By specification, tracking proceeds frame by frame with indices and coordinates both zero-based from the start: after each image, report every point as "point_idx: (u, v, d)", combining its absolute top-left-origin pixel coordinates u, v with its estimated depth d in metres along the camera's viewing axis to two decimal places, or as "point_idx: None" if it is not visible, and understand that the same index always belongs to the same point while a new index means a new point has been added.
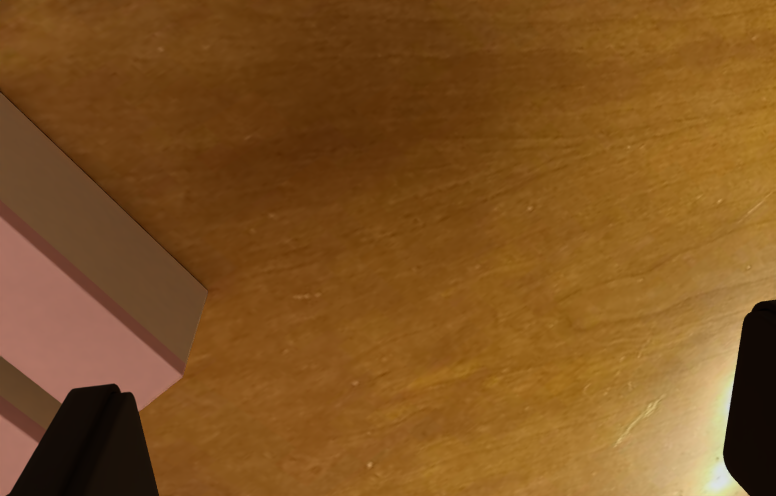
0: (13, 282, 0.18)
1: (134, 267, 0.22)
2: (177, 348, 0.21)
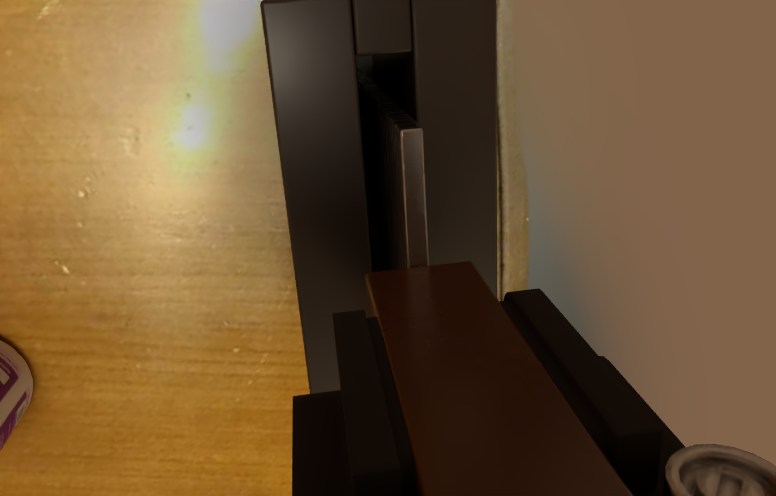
0: None
1: None
2: None
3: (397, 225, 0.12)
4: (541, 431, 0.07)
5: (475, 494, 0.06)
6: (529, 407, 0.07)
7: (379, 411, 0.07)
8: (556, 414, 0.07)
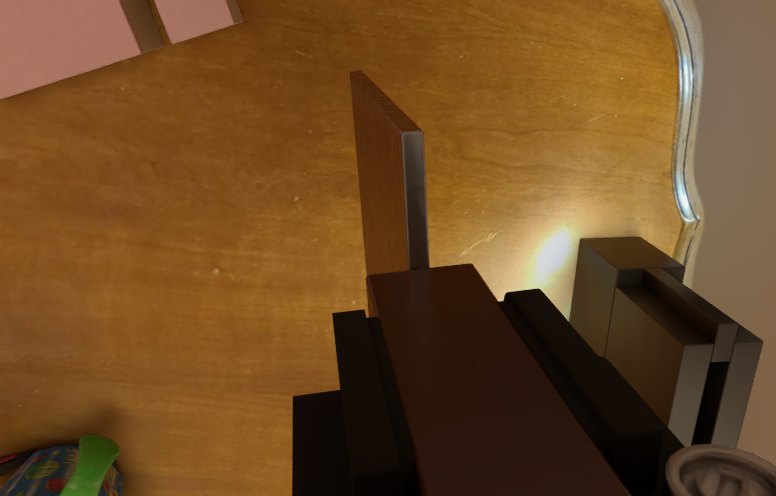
0: None
1: None
2: (232, 13, 0.34)
3: (398, 227, 0.13)
4: (542, 434, 0.07)
5: None
6: (530, 410, 0.07)
7: (379, 411, 0.07)
8: (557, 417, 0.07)
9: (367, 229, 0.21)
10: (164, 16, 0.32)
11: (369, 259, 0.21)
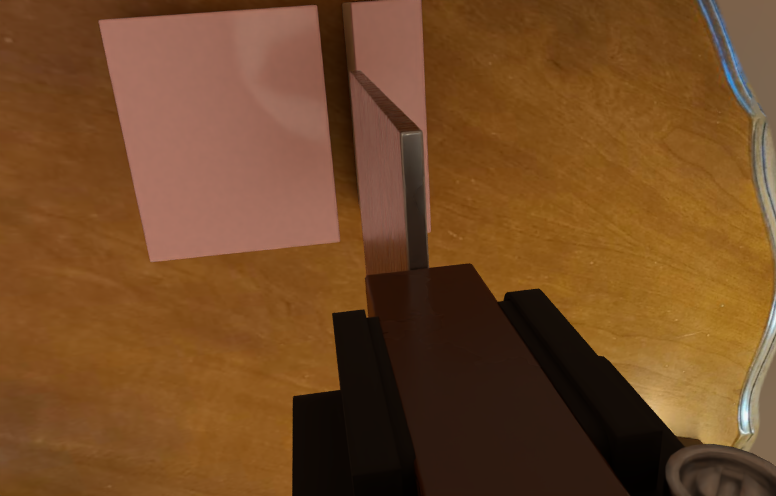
0: None
1: None
2: None
3: (397, 227, 0.12)
4: (541, 435, 0.07)
5: None
6: (529, 410, 0.07)
7: (379, 411, 0.07)
8: (556, 417, 0.07)
9: (367, 229, 0.21)
10: None
11: (369, 259, 0.21)
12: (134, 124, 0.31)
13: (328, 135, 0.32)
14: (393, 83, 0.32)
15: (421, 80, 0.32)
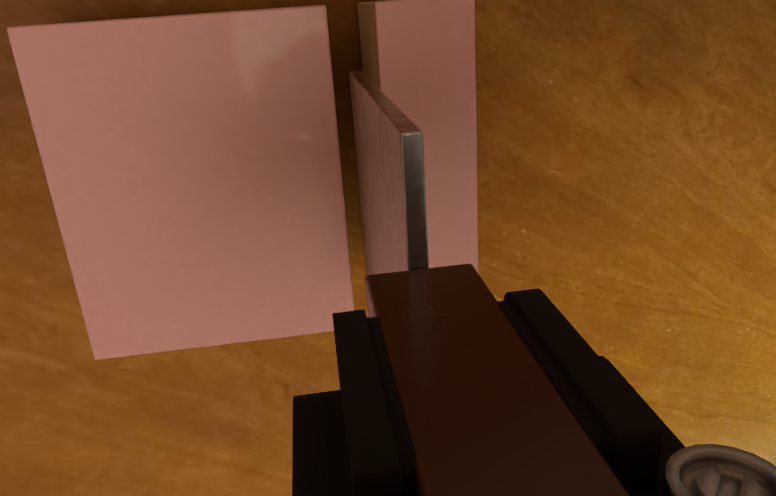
0: (444, 186, 0.24)
1: None
2: None
3: (397, 227, 0.12)
4: (541, 435, 0.07)
5: None
6: (529, 411, 0.07)
7: (379, 411, 0.07)
8: (556, 418, 0.07)
9: (367, 229, 0.21)
10: None
11: (369, 259, 0.21)
12: (65, 175, 0.22)
13: (341, 187, 0.23)
14: (432, 115, 0.23)
15: (471, 111, 0.23)
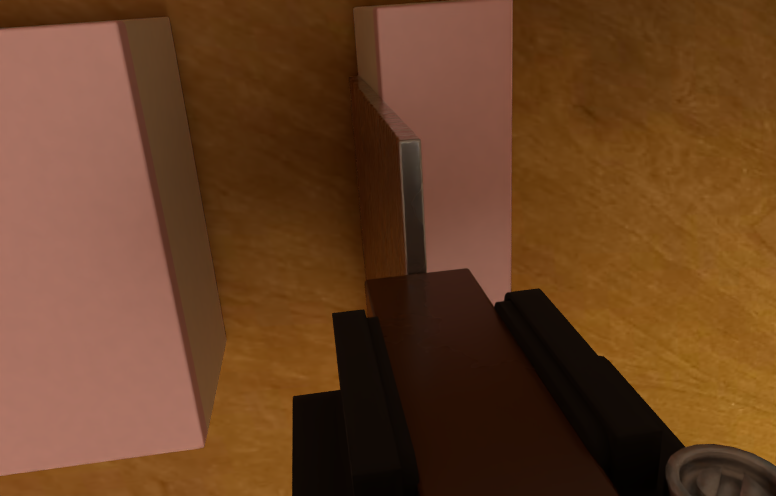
0: (468, 250, 0.18)
1: None
2: None
3: (396, 233, 0.13)
4: (534, 435, 0.07)
5: None
6: (523, 412, 0.08)
7: (378, 411, 0.07)
8: (549, 419, 0.08)
9: (366, 233, 0.21)
10: None
11: (368, 262, 0.21)
12: None
13: (165, 269, 0.17)
14: (454, 160, 0.17)
15: (506, 153, 0.17)
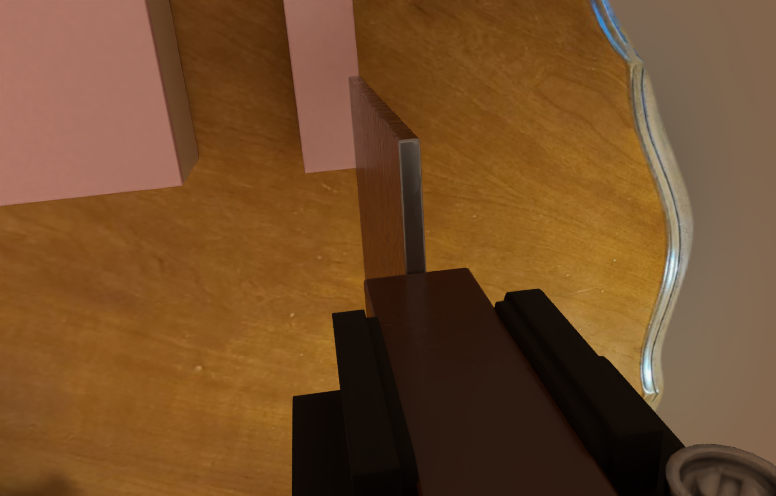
0: (333, 64, 0.33)
1: None
2: None
3: (395, 232, 0.13)
4: (533, 435, 0.07)
5: (469, 495, 0.06)
6: (522, 411, 0.08)
7: (378, 411, 0.07)
8: (548, 418, 0.08)
9: (365, 232, 0.21)
10: (305, 148, 0.34)
11: (367, 262, 0.21)
12: None
13: (158, 73, 0.32)
14: (321, 11, 0.32)
15: (349, 8, 0.32)
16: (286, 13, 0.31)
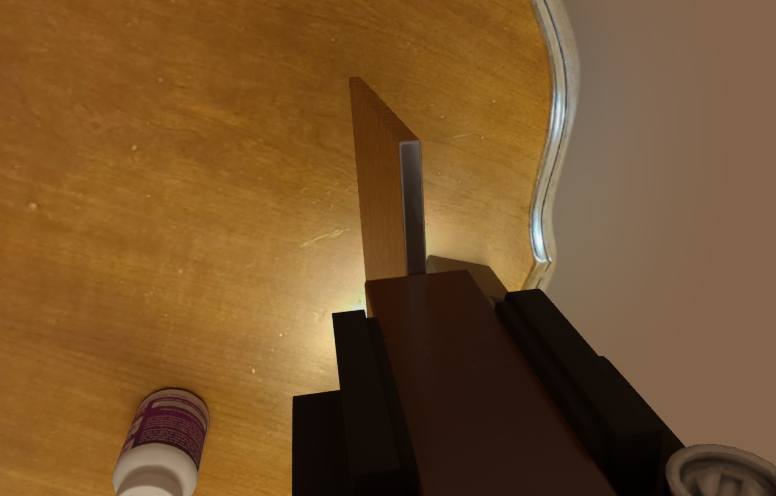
0: None
1: None
2: None
3: (396, 233, 0.13)
4: (534, 437, 0.07)
5: None
6: (523, 414, 0.08)
7: (379, 411, 0.07)
8: (549, 420, 0.08)
9: (366, 233, 0.21)
10: None
11: (368, 263, 0.21)
12: None
13: None
14: None
15: None
16: None
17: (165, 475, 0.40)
